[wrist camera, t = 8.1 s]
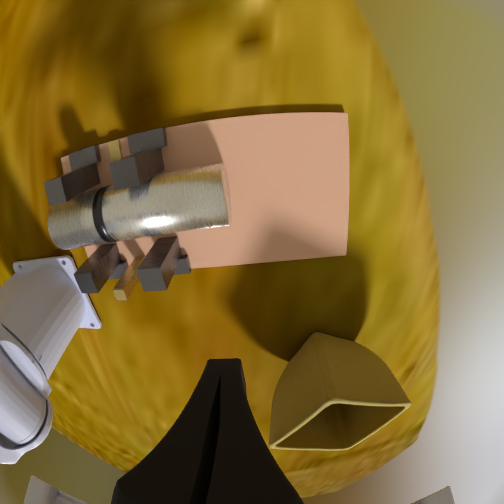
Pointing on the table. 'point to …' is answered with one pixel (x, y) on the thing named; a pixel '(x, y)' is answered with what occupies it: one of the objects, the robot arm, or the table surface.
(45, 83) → the table surface
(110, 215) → the tube
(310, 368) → the flower pot
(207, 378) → the robot arm
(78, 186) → the rail
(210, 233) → the tile
